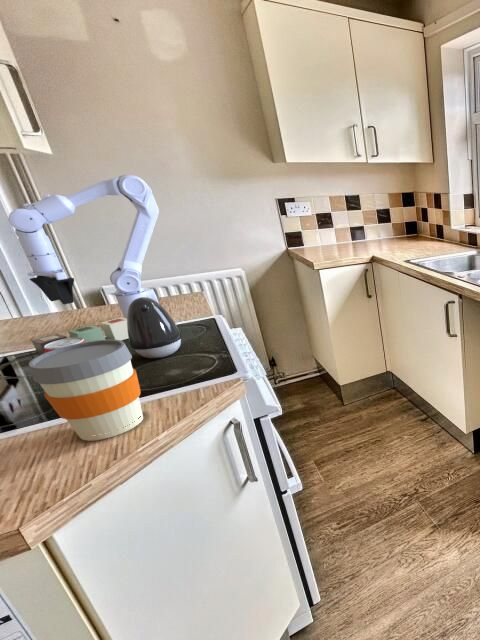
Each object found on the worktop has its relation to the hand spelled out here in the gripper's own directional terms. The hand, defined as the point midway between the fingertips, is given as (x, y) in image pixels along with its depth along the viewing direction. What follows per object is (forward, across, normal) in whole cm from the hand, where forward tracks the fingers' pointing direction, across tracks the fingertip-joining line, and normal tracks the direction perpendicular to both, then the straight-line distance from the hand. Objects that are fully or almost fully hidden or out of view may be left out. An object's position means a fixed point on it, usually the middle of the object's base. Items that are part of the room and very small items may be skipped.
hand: (62, 301), depth 121 cm
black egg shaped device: (+10, +42, +1) cm, 43 cm away
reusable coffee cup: (+10, +71, -21) cm, 75 cm away
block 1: (+9, +18, -10) cm, 23 cm away
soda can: (+10, +51, -17) cm, 55 cm away
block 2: (+9, +18, -3) cm, 21 cm away
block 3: (+9, +18, +3) cm, 21 cm away
